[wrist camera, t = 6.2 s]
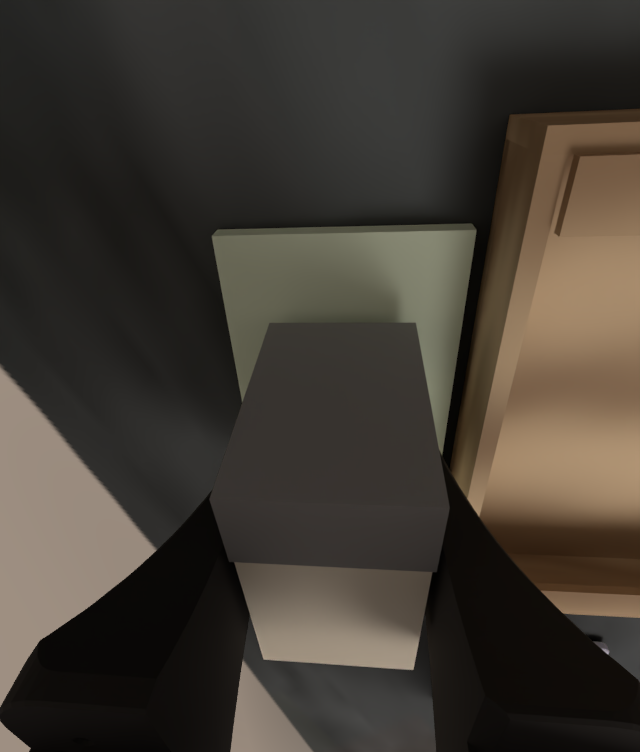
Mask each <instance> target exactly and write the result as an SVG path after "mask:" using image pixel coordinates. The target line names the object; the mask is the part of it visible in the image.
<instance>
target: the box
mask: <svg viewBox="0 0 640 752" xmlns="http://www.w3.org/2000/svg"><path fill="white" fill-rule="evenodd" d="M209 500H210V503H211V506H212V509H213V512H214V516H215V519H216V522H217V525H218V528H219V531H220V535H221V538H222V541H223V544H224V547H225V550H226V554H227V557H228V560H229V562H234V563H235V567H236V570H237V573H238V576H239V580H240V583H241V586H242V590H243V593H244V596H245V600H246V603H247V606H248V609H249V613H250V616H251V619H252V623H253V626H254V629H255V633H256V636H257V639H258V642H259V646H260V649H261V652H262V656H263V659H264V660H278V661H293V662H307V663H321V664H335V665H349V666H363V667H377V668H391V669H406V670H414V664H415V659H416V654H417V649H418V644H419V639H420V634H421V628H422V623H423V618H424V613H425V608H426V603H427V597H428V592H429V587H430V582H431V577H432V572H437V568H438V563H439V558H440V553H441V549H442V544H443V539H444V534H445V529H446V524H447V519H448V514H449V509H450V506H449V501H448V495H447V490H446V484H445V479H444V474H443V468H442V463H441V457H440V452H439V446H438V441H437V435H436V430H435V424H434V419H433V414H432V408H431V403H430V397H429V392H428V386H427V381H426V375H425V370H424V364H423V359H422V353H421V348H420V343H419V337H418V332H417V326H416V323H269V326H268V329H267V332H266V334H265V337H264V340H263V343H262V346H261V349H260V352H259V355H258V358H257V361H256V364H255V367H254V370H253V373H252V376H251V378H250V381H249V384H248V387H247V390H246V393H245V396H244V399H243V402H242V405H241V408H240V411H239V414H238V417H237V420H236V422H235V425H234V428H233V431H232V434H231V437H230V440H229V443H228V446H227V449H226V452H225V455H224V458H223V461H222V464H221V466H220V469H219V472H218V475H217V478H216V481H215V484H214V487H213V490H212V493H211V496H210V499H209Z"/></svg>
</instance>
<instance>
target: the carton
mask: <svg viewBox="0 0 640 752" xmlns="http://www.w3.org/2000/svg"><path fill="white" fill-rule="evenodd" d="M449 470H450V471H451V473H452V475H453V477H454V478H455V480H456V482H457V483H458V485H459V487H460V488H461V490H462V492H463V493H464V495H465V496H466V498H467V499H468V501H469V502H470V504H471V505H472V507H473V508H474V510H475V511H476V513H477V514H478V516H479V517H480V519H481V520H482V521H483V523H484V524H485V525H486V527H487V528H488V530H489V531H490V532H491V534H492V535H493V536H494V538H495V539H496V540H497V541H498V543H499V544H500V545H501V546H502V548H503V549H504V550H505V551H506V553H507V554H508V555H509V556H510V557H511V559H512V560H513V561H514V562H515V563H516V564H517V566H518V567H519V568H520V569H521V570H522V571H523V572H524V573H525V575H526V576H527V577H528V578H529V579H530V580H531V581H532V582H533V583H534V585H535V586H536V587H537V588H538V589H539V590H540V591H541V592H542V593H543V594H544V595H545V596H546V597H547V598H548V599H549V600H550V601H551V602H552V603H553V604H554V605H555V606H556V607H557V608H558V609H559V610H560V611H561V612H562V613H563V614H579V615H598V616H617V617H636V618H640V109H619V110H597V111H575V112H553V113H531V114H510V115H509V121H508V127H507V133H506V139H505V145H504V150H503V156H502V162H501V168H500V174H499V180H498V186H497V192H496V197H495V203H494V209H493V215H492V221H491V227H490V233H489V239H488V245H487V250H486V256H485V262H484V268H483V274H482V280H481V286H480V292H479V297H478V303H477V309H476V315H475V321H474V327H473V333H472V339H471V345H470V350H469V356H468V362H467V368H466V374H465V380H464V386H463V392H462V397H461V403H460V409H459V415H458V421H457V427H456V433H455V439H454V444H453V450H452V456H451V462H450V468H449Z"/></svg>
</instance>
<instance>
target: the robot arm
mask: <svg viewBox="0 0 640 752" xmlns="http://www.w3.org/2000/svg"><path fill="white" fill-rule="evenodd" d="M439 452H440V450H439ZM440 457H441V463H442V468H443V474H444V479H445V484H446V490H447V495H448V501H449V506H450V509H449V514H448V519H447V524H446V529H445V534H444V539H443V544H442V549H441V553H440V558H439V563H438V568H437V572H432V577H431V582H430V587H429V592H428V597H427V603H426V608H425V616H426V625H427V636H428V647H429V659H430V671H431V684H432V696H433V710H434V724H435V738H436V752H640V682H639V681H638V679H636V678H635V677H634V676H633V675H632V674H630V673H629V672H628V671H627V670H626V669H625V668H623V667H622V666H621V665H620V664H619V663H617V662H616V661H615V660H614V659H613V658H611V657H610V656H609V655H608V654H609V650H608V648H607V645H606V644H605V643H603V642H598V641H592V640H591V639H590V638H589V637H587V636H586V635H585V634H584V633H583V632H582V631H581V630H580V629H579V628H578V627H577V626H576V625H575V624H573V623H572V622H571V621H570V620H569V619H568V618H567V617H566V616H565V615H564V614H563V613H562V612H561V611H560V610H559V609H558V608H557V607H556V606H555V605H554V604H553V603H552V602H551V601H550V600H549V599H548V598H547V597H546V596H545V595H544V594H543V593H542V592H541V591H540V590H539V589H538V588H537V587H536V586H535V585H534V583H533V582H532V581H531V580H530V579H529V578H528V577H527V576H526V575H525V573H524V572H523V571H522V570H521V569H520V568H519V567H518V566H517V564H516V563H515V562H514V561H513V560H512V559H511V557H510V556H509V555H508V554H507V553H506V551H505V550H504V549H503V548H502V546H501V545H500V544H499V543H498V541H497V540H496V539H495V538H494V536H493V535H492V534H491V532H490V531H489V530H488V528H487V527H486V525H485V524H484V523H483V521H482V520H481V519H480V517H479V516H478V514H477V513H476V511H475V510H474V508H473V507H472V505H471V504H470V502H469V501H468V499H467V498H466V496H465V495H464V493H463V492H462V490H461V488H460V487H459V485H458V483H457V482H456V480H455V478H454V477H453V475H452V473H451V471H450V470H449V468H448V466H447V464H446V462H445V460H444V458H443V456H442V454H441V452H440ZM212 490H213V489H212ZM211 493H212V491H211V492H210V493H209V495H208V496H207V497H206V498H205V499H204V501H203V502H202V503H201V504H200V505H199V506H198V508H197V509H196V510H195V511H194V512H193V513H192V515H191V516H190V517H189V518H188V519H187V520H186V521H185V522H184V524H183V525H182V526H181V527H180V528H179V529H178V530H177V531H176V532H175V533H174V534H173V535H172V536H171V537H170V538H169V539H168V540H167V541H166V542H165V543H164V544H163V545H162V546H161V547H160V548H159V549H158V550H157V551H156V552H155V553H154V554H153V555H151V556H150V557H149V558H148V559H147V560H146V561H145V562H144V563H143V564H142V565H141V566H140V567H138V568H137V569H136V570H135V571H134V572H133V573H131V574H130V575H129V576H128V577H127V578H126V579H124V580H123V581H122V582H120V583H119V584H118V585H117V586H115V587H114V588H113V589H111V590H110V591H109V592H108V593H106V594H105V595H104V596H103V597H101V598H100V599H99V600H98V601H96V602H95V603H94V604H93V605H91V606H90V607H88V608H87V609H86V610H84V611H83V612H81V613H80V614H78V615H77V616H76V617H74V618H73V619H71V620H70V621H68V622H67V623H65V624H64V625H62V626H61V627H60V628H58V629H57V630H55V631H54V632H52V633H51V634H50V635H48V636H46V637H45V638H43V639H42V640H40V641H39V643H38V644H37V646H36V647H35V649H34V650H33V652H32V654H31V655H30V657H29V658H28V659H27V661H26V663H25V664H24V666H23V668H22V670H21V671H20V674H19V675H18V677H17V679H16V680H15V682H14V684H13V686H12V688H11V689H10V691H9V693H8V694H7V696H6V698H5V700H4V701H3V703H2V705H1V707H0V721H1V722H2V723H3V725H4V726H5V727H6V728H7V729H8V730H10V731H11V732H12V733H13V734H14V735H16V736H17V737H18V738H19V739H20V740H22V741H23V742H24V743H25V744H26V745H28V746H29V747H30V748H31V749H30V751H29V752H230V749H231V741H232V733H233V724H234V717H235V710H236V702H237V695H238V687H239V680H240V672H241V666H242V660H243V653H244V646H245V640H246V634H247V628H248V622H249V615H250V613H249V609H248V606H247V603H246V600H245V596H244V593H243V590H242V586H241V583H240V580H239V576H238V573H237V570H236V567H235V563H234V562H229V560H228V557H227V554H226V550H225V547H224V544H223V541H222V538H221V535H220V531H219V528H218V525H217V522H216V519H215V516H214V512H213V509H212V506H211V503H210V500H209V499H210V496H211Z"/></svg>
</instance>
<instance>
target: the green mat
mask: <svg viewBox="0 0 640 752" xmlns="http://www.w3.org/2000/svg"><path fill="white" fill-rule="evenodd" d="M476 231H477V230H476V228H475V227H474V226H473V224H472V223H468V224H426V225H385V226H343V227H302V228H260V229H219V230H217V231H216V232H215V233H214V234H213V235H212V241H213V247H214V252H215V257H216V263H217V268H218V274H219V279H220V284H221V290H222V295H223V301H224V306H225V312H226V317H227V322H228V328H229V333H230V339H231V344H232V350H233V355H234V360H235V366H236V371H237V377H238V382H239V388H240V393H241V398H242V402H243V399H244V396H245V393H246V390H247V387H248V384H249V381H250V378H251V376H252V373H253V370H254V367H255V364H256V361H257V358H258V355H259V352H260V349H261V346H262V343H263V340H264V337H265V334H266V332H267V329H268V326H269V323H416V326H417V332H418V337H419V343H420V348H421V353H422V359H423V364H424V370H425V375H426V381H427V386H428V392H429V397H430V403H431V408H432V414H433V419H434V424H435V430H436V435H437V441H438V446H439V450H440V452H441V454H442V453H443V447H444V440H445V434H446V427H447V421H448V414H449V408H450V401H451V395H452V388H453V381H454V375H455V368H456V362H457V355H458V349H459V342H460V336H461V329H462V323H463V316H464V310H465V303H466V297H467V290H468V284H469V277H470V271H471V264H472V258H473V251H474V244H475V238H476Z"/></svg>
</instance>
